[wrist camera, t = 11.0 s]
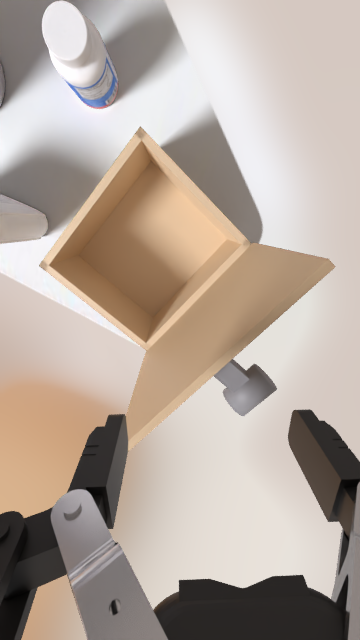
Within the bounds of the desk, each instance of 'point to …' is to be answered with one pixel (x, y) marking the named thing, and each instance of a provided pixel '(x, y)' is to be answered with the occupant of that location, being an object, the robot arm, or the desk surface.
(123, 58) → the desk surface
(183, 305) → the carton
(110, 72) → the pill bottle
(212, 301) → the carton lid
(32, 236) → the photo printer
